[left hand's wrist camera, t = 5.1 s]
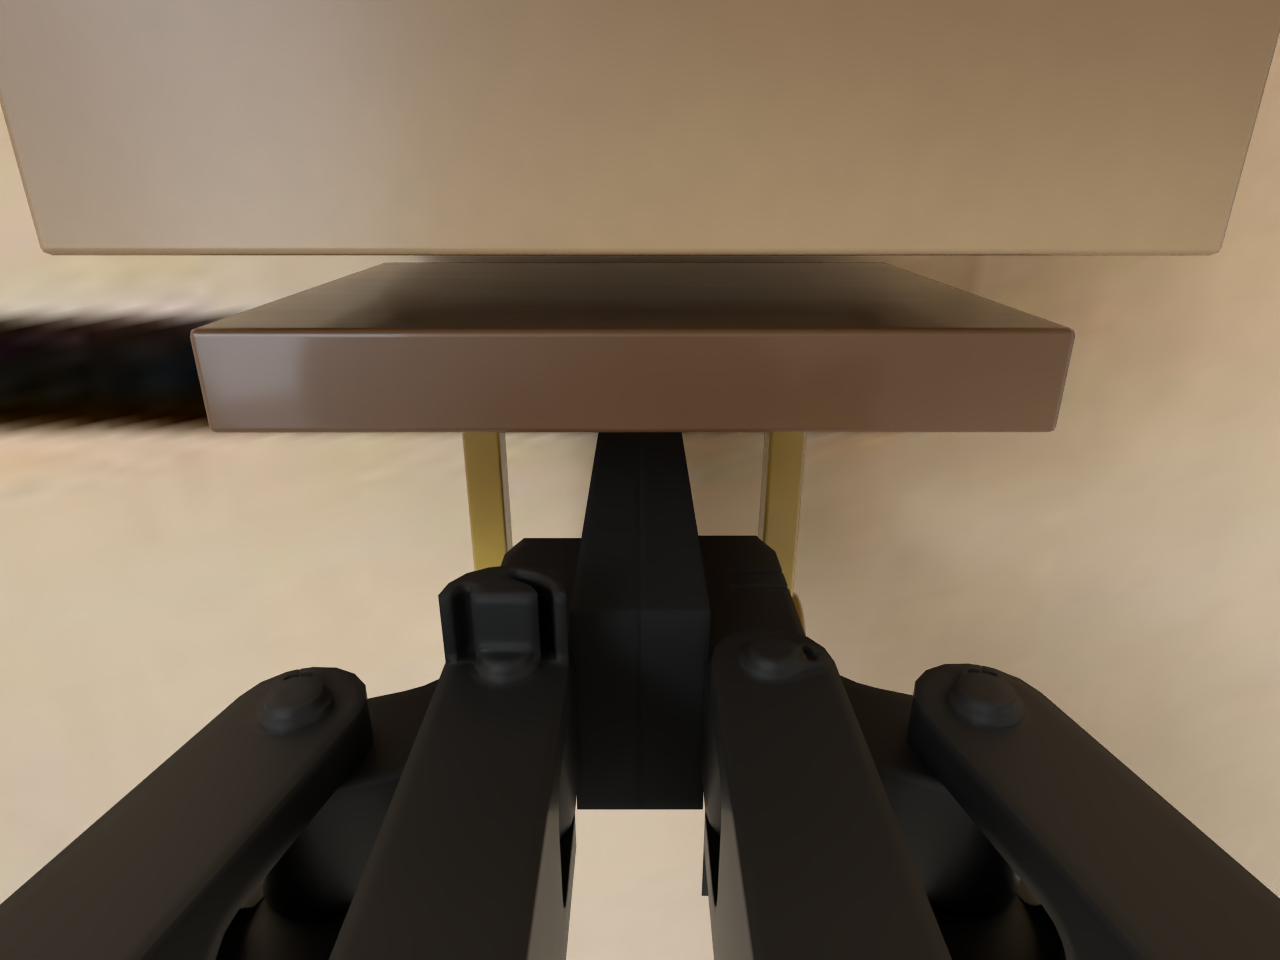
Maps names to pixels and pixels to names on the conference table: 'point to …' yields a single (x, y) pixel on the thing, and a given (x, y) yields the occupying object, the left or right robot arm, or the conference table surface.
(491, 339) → the drawer
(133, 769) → the conference table surface
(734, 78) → the cabinet
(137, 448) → the conference table surface
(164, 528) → the conference table surface
